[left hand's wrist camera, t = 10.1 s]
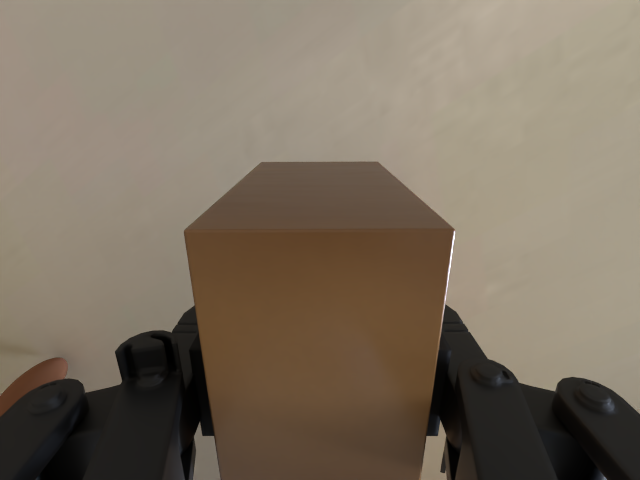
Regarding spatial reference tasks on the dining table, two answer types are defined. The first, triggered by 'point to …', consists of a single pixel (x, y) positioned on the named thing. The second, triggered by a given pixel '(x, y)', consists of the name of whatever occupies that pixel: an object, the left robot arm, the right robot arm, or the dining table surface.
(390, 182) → the post
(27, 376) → the egg
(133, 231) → the dining table surface
